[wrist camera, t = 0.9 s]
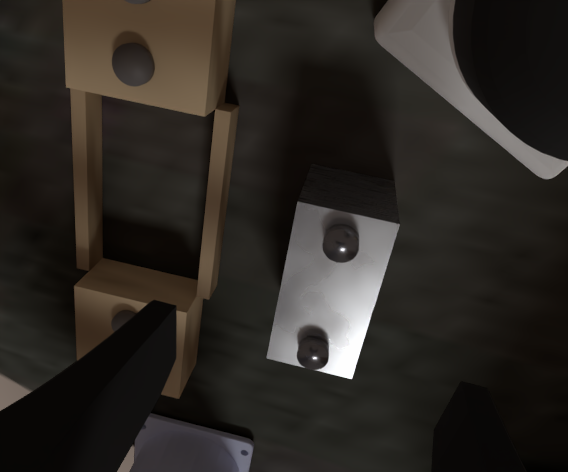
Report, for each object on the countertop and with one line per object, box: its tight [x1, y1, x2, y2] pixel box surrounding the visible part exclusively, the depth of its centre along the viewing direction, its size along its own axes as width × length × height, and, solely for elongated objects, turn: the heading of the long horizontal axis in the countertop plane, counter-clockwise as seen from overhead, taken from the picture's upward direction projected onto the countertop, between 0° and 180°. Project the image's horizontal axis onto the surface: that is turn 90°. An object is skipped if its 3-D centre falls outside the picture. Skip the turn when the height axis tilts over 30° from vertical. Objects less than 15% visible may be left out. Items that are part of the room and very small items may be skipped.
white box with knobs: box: [267, 164, 400, 379], centre depth 22 cm, size 8×4×6 cm, turn 171°
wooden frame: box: [63, 0, 239, 399], centre depth 23 cm, size 22×7×3 cm, turn 171°
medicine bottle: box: [374, 0, 568, 179], centre depth 14 cm, size 7×7×12 cm
